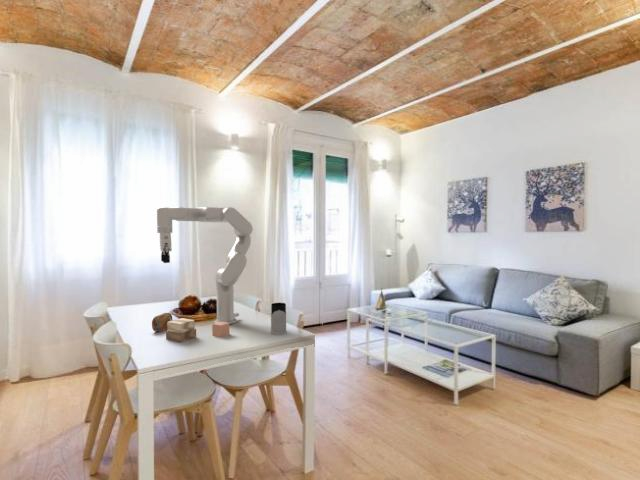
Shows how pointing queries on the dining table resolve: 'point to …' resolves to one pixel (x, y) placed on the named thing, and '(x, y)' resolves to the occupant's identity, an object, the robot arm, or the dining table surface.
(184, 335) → the base block
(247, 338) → the dining table surface
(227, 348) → the dining table surface
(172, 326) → the top block
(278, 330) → the glass holder
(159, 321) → the brown rounded slab
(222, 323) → the cube
